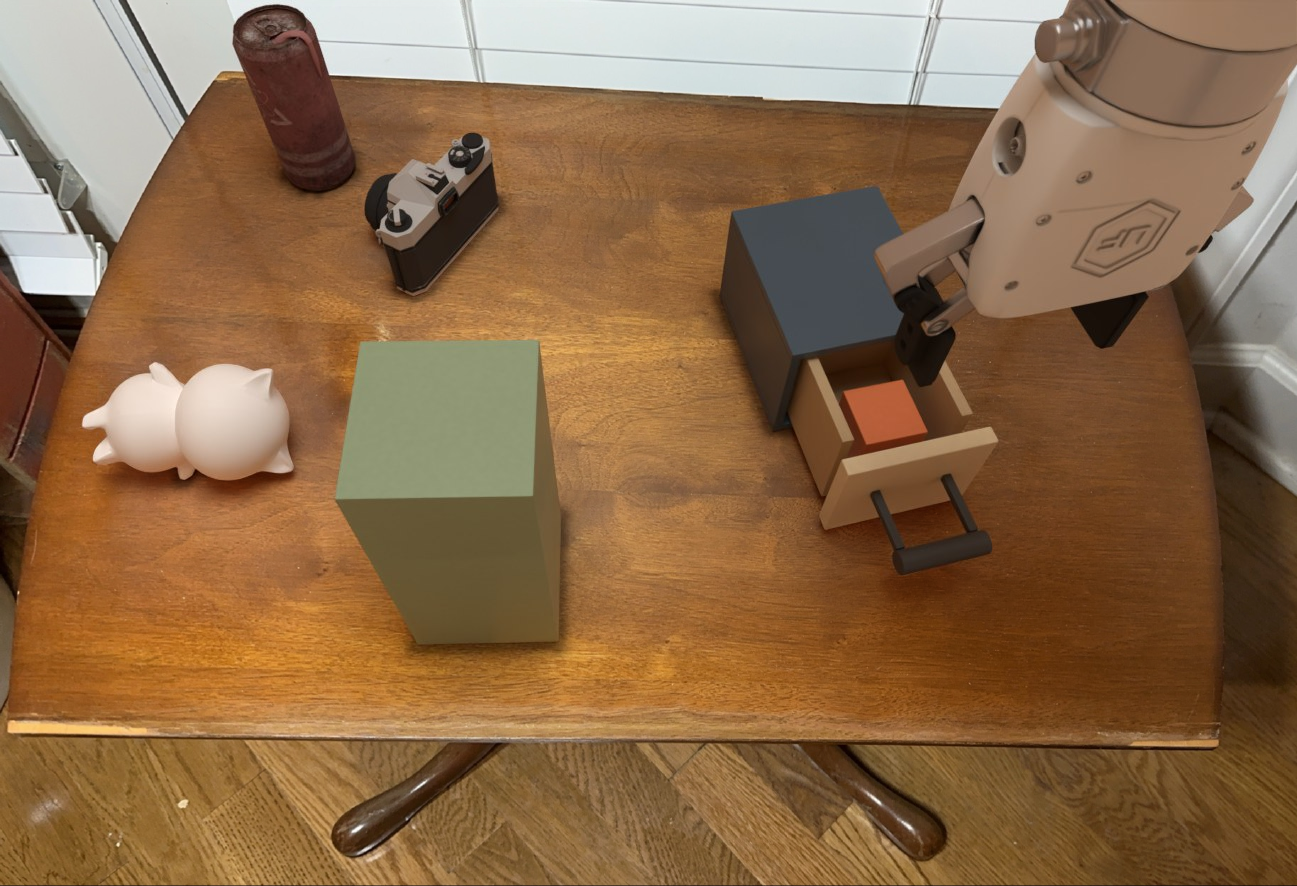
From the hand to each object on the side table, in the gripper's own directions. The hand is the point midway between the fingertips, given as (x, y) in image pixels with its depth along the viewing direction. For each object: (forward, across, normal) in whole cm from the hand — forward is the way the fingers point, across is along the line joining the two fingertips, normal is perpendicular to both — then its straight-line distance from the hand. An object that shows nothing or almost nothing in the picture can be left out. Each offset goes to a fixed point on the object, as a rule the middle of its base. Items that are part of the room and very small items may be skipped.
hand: (1002, 344), depth 46 cm
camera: (+21, -28, +35) cm, 49 cm away
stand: (+21, -28, +4) cm, 35 cm away
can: (+20, -36, +45) cm, 61 cm away
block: (+19, 0, +6) cm, 20 cm away
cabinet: (+21, 0, +17) cm, 27 cm away
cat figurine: (+21, -45, +19) cm, 53 cm away
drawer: (+20, 0, +4) cm, 21 cm away
